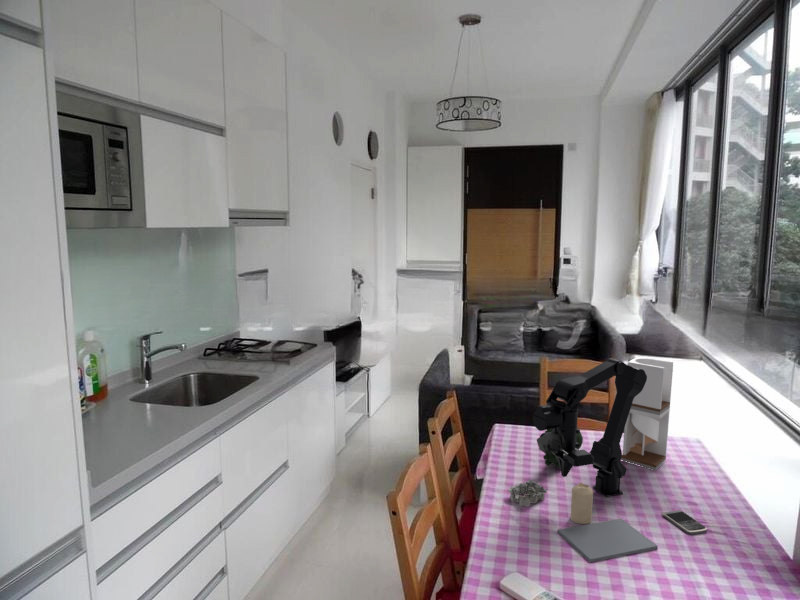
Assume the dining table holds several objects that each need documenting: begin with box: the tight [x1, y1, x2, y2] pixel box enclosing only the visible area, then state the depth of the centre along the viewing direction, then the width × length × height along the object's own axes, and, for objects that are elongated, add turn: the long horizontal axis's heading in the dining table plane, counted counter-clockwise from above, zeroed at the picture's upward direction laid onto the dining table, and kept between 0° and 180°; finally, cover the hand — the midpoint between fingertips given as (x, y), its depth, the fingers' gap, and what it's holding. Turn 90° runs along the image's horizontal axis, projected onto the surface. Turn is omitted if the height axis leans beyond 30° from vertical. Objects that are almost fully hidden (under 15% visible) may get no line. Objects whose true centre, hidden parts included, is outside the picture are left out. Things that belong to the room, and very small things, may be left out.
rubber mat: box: [557, 517, 659, 563], centre depth 150 cm, size 20×14×1 cm
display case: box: [621, 356, 674, 471], centre depth 196 cm, size 11×11×35 cm
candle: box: [570, 482, 594, 525], centre depth 159 cm, size 6×6×10 cm
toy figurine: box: [543, 429, 584, 469], centre depth 197 cm, size 9×19×25 cm
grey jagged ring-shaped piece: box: [507, 478, 549, 507], centre depth 172 cm, size 11×8×4 cm
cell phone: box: [661, 509, 708, 535], centre depth 159 cm, size 6×11×1 cm, turn 15°
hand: (564, 476), depth 167 cm, fingers closed
